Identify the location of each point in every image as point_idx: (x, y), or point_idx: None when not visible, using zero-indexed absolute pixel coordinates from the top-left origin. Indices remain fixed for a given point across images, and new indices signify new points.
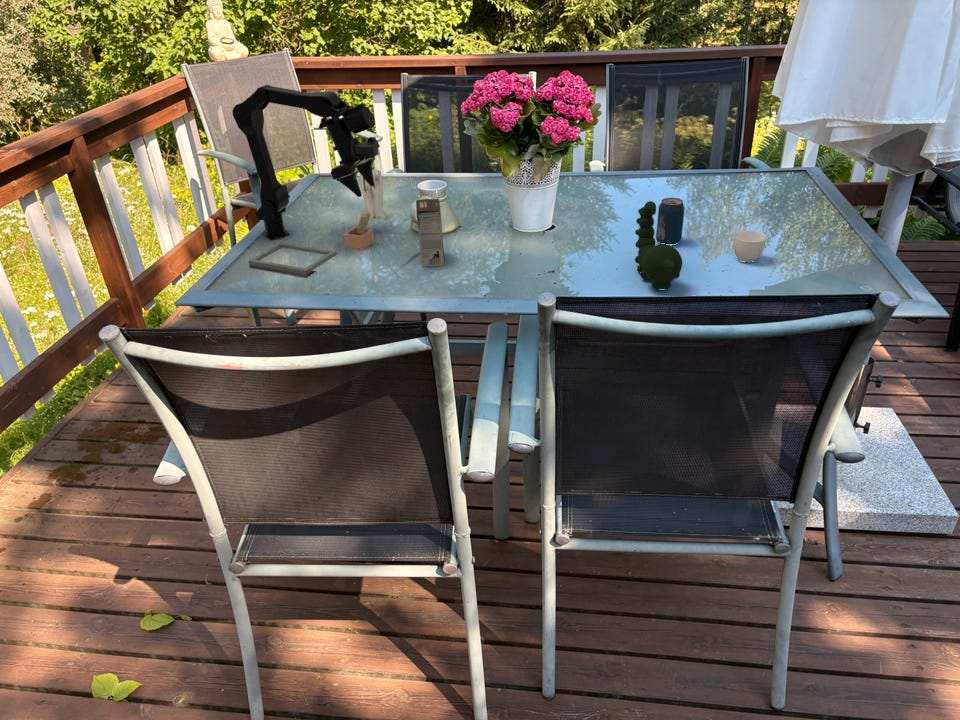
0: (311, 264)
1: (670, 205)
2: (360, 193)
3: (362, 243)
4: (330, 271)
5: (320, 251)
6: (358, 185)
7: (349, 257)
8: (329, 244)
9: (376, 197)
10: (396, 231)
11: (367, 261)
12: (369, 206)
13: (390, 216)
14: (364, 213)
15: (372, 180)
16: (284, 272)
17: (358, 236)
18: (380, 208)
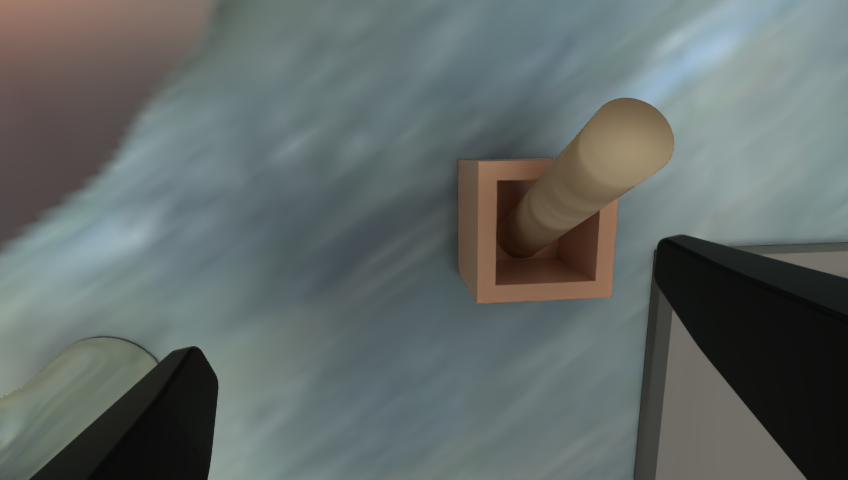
0: (846, 270)
1: None
2: (717, 245)
3: None
4: (798, 181)
5: (686, 337)
6: (844, 309)
7: (634, 195)
8: (522, 389)
9: (21, 439)
10: (226, 160)
11: (655, 71)
12: None
13: (31, 336)
14: (653, 143)
15: (154, 404)
16: None
17: None
18: (62, 382)
